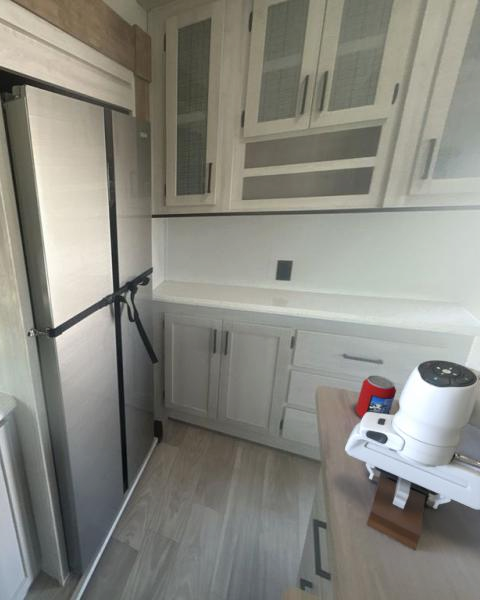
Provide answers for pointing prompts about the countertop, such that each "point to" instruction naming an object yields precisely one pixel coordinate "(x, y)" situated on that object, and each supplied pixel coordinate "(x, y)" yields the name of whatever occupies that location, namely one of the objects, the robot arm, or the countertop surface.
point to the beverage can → (376, 396)
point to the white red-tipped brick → (401, 492)
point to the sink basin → (413, 486)
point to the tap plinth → (397, 514)
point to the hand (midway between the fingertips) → (401, 491)
